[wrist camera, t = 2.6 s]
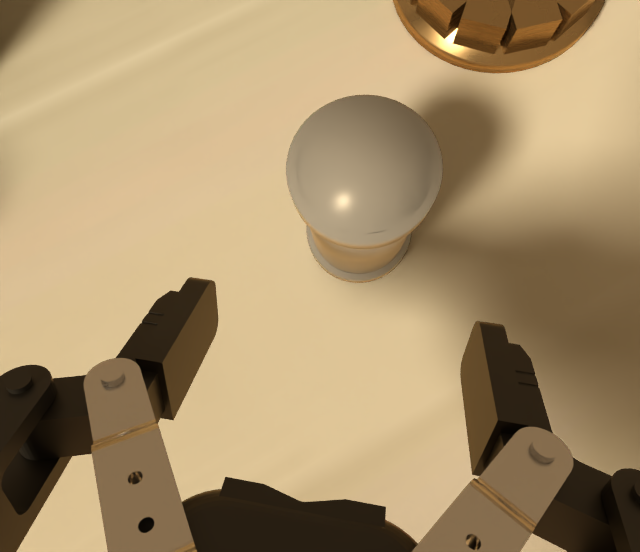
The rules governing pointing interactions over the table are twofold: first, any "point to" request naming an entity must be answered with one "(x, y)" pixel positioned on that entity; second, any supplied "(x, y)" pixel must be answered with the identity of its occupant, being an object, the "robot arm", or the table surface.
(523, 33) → the bronze ring
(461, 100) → the table surface
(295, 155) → the grey flanged cylinder
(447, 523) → the robot arm
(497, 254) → the table surface
